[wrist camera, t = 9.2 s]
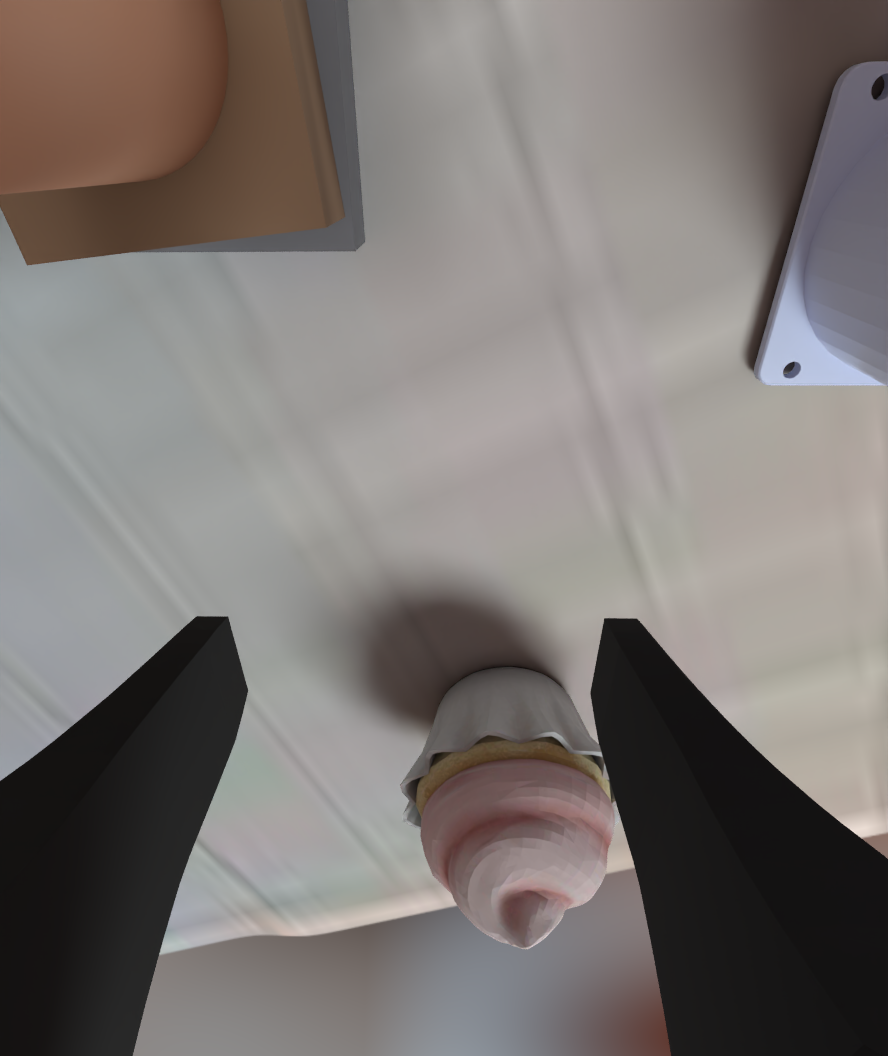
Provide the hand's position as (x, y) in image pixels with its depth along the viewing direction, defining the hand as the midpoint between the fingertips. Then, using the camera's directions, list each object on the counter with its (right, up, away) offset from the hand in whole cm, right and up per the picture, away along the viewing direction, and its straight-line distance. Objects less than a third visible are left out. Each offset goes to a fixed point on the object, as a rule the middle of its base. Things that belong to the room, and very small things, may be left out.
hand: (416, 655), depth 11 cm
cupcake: (+3, -6, +16) cm, 18 cm away
